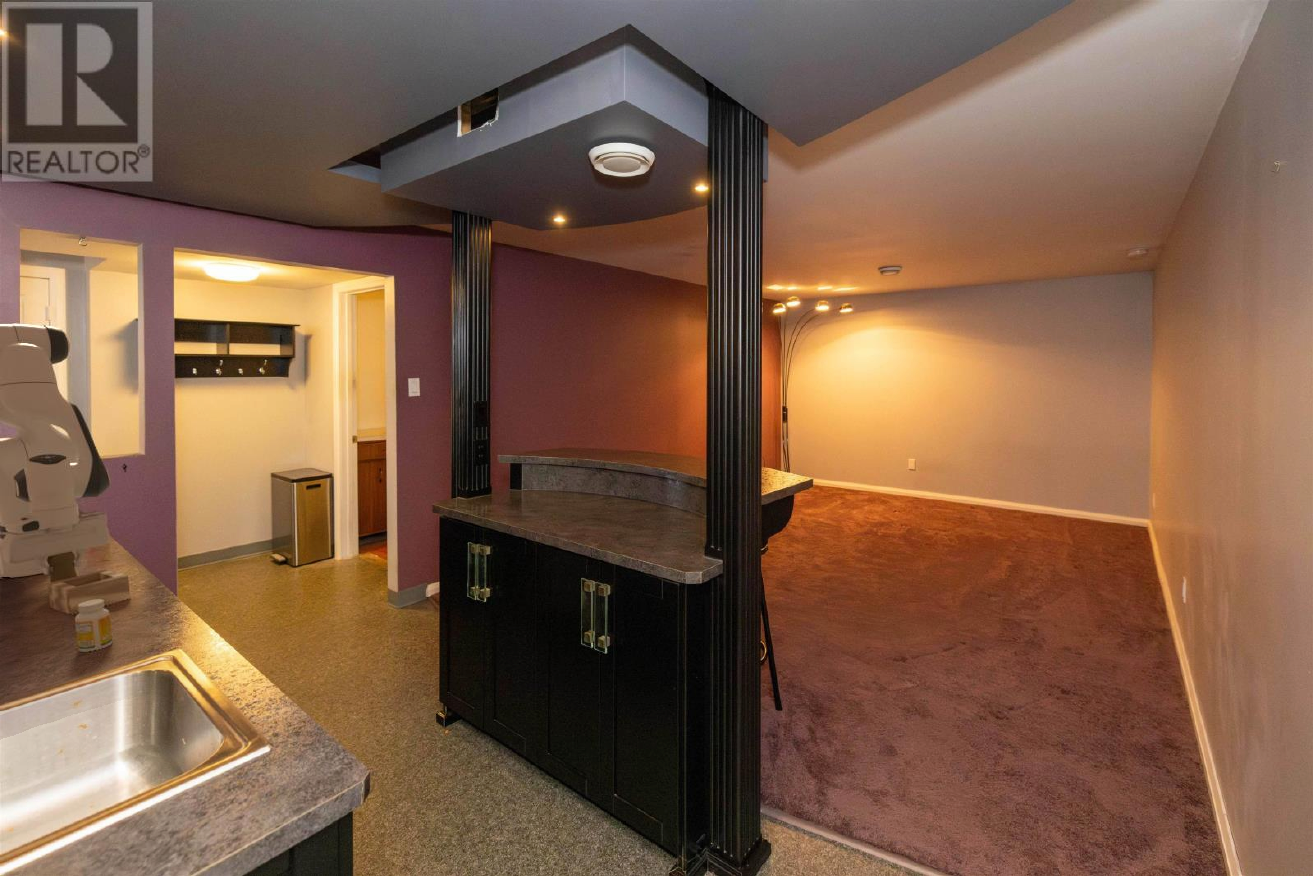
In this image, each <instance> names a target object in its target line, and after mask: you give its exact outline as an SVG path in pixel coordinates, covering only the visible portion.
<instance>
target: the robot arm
mask: <svg viewBox="0 0 1313 876" xmlns="http://www.w3.org/2000/svg"><path fill="white" fill-rule="evenodd" d="M70 349H71V344H70V341H69V338H68V337H67V334H66V333H65V331H63V329H61V328H59V327H56V326H50V325H43V326H42V325H34V324H26V323H24V324H23V323H22V324H21V323H10V324H9V323H0V424H2V425H4V426H5V425H6V426H9V427H12V428H13V427H14V428H15V429H16V432H17V436H11V437H9V436H8V437H0V577H10V578H19V577H27V576H34V575H39V574H44V575H45V576H46V575H51V573H53V572H54V570H53V566H50V565H49V564H48V562H47V558H48V557H49V556H54V555H58V554H63V553H68V552H74V554H76V555H75V560H74V561H73V565H74V568H75V569H76V568H80V567H81V566H82V564H81V563H82V562H81V561H82V559H83V557H84V556H85V554H86V549H90V548H94V547H100V546H104V545H105V546H106V545H108V544H109V542H110V541H111V534H110V531H109V528H108V525H107V524H108V515H107V514H106V513H105V512H102V511H99V510H97V511H96V510H95V511H94V510H93V511H91V512H84V513H79V505H78V501H77V498H80V499H85V498H97V497H99V496H100V495H102V494H103V493H105V492H106V491H107V490H108V488H109V487H110V485H111V477H110V473H109V471H108V470H107V468H106V466H105V464H104V462H103V460H102V458H101V456H100V454H99V451H98V449H97V446H96V444H95V441H94V439H93V436H92V434H91V432H90V429H89V427H88V424H87V423H86V422H87V421H86V420H85V418H84V416H83V414H82V412H81V410H80V408H79V407H78V406H77V405H76V404H75V403H72V402H68V400H66V398H65V397H64V396H63V395H62V393H61V392H60V389H59V386H58V380H57V377H56V374H55V370H54V367H53V365H56V364H58V363H63V361H64V360H66V359H67V358H68V356H69V353H70ZM54 426H56V427H58V428H60V429H62V430H63V431H65V432H66V433H67V434H68V435H67V434H64V433H62V431H59V430H57V428H55V427H54Z"/></svg>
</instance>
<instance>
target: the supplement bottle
mask: <svg viewBox="0 0 1313 876" xmlns="http://www.w3.org/2000/svg"><path fill="white" fill-rule="evenodd" d="M78 611H79V612H80V613H78V614H76V616H75V618H74V624H75V625H74V626H75V632H76V640H77V641H76V642H77V648H78V650H79V652H81V653H89V651H91V652H95V651H94V650H96V651H99V649H100V650H102V648H103V649H105V648H107V647H109V646H110V645H112V643H113V632H112V625H111V614H110V610H108V609H107V608H105V606H104V600H102V599H95V600H89V601H85V602H82V603H80V604H79V605H78Z"/></svg>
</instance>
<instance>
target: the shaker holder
mask: <svg viewBox="0 0 1313 876" xmlns="http://www.w3.org/2000/svg"><path fill="white" fill-rule="evenodd" d="M47 591H48V596H49V597H48V599H49V604H50V608H51V607H52V609H54V608H55V610H57V609H59V610H58V611H60V610H61V611H60V612H62V611H64V612H63V613H65V612H66V614H68V615H71V614H72V615H71V616H74V615H73V614H75V615H78V614H80V612H79V611H78V605H79V604H80V603H82V602H85V601H89V600H95V599H102V600H104V607H105V605H107V606H109V605H108V604H110V605H112V604H113V603H114V604H117V603H120V602H119V601H121V602H123V601H122V600H124V601H127V599H128V600H130V599H131V592H130V584H129V575H127V574H124V573H119V572H115V571H112V570H108V569H101V570H99V571H94V572H90V573H86V574H82V575H77V577H73V578H69V579H64V580H60V581H56V582H52V583H50V582H49V583H47ZM129 598H130V599H129ZM116 602H117V603H116ZM114 604H113V605H114Z"/></svg>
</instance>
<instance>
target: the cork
mask: <svg viewBox="0 0 1313 876" xmlns="http://www.w3.org/2000/svg"><path fill="white" fill-rule="evenodd" d="M75 557H76V555H75V552H74V551H72V552H68V553H63V554H58V555H54V556H49V557H48V558H47V562H48V564H49V565H50V566H53V570H54V572H53V573H51V574H50V580H49V581H50V582H49V583H52V582H56V581H60V580H64V579H69V578H73V577H77V576H78V575H77V572H76V568H74V565H73V561H74V560H75Z"/></svg>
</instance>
